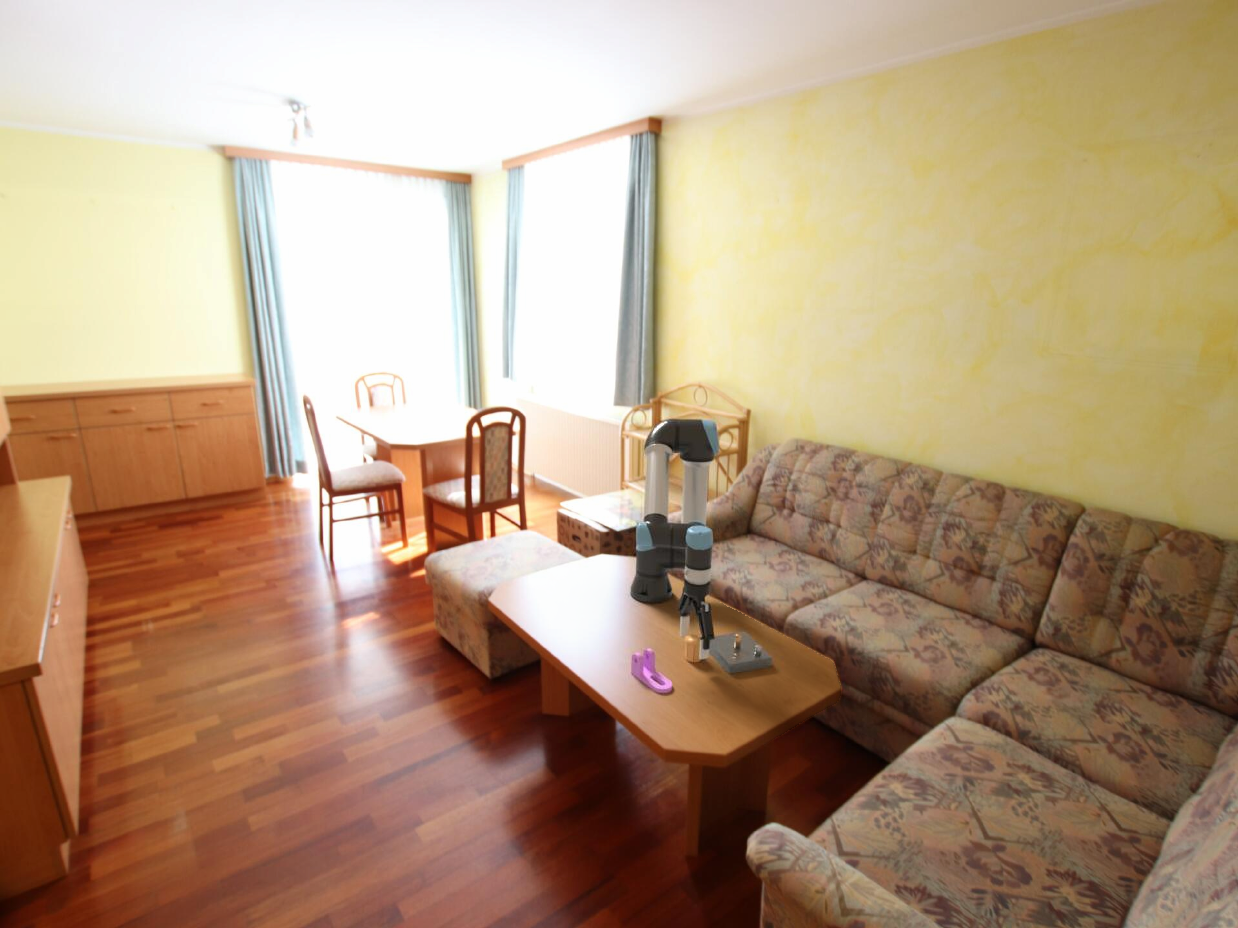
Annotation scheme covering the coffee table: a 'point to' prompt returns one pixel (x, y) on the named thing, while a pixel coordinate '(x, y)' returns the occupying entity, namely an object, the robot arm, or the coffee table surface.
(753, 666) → the block
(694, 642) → the orange faceted knob
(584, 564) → the coffee table surface
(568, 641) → the coffee table surface
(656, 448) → the robot arm
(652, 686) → the bracket
